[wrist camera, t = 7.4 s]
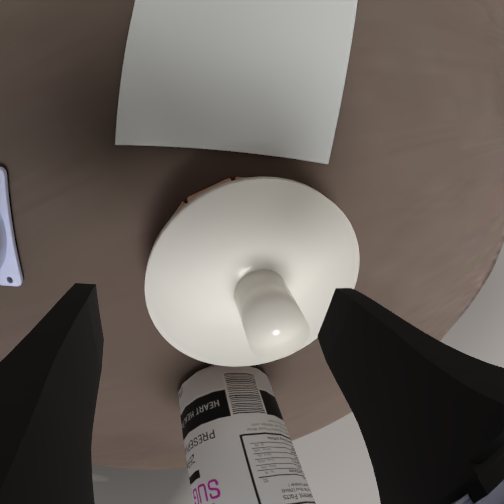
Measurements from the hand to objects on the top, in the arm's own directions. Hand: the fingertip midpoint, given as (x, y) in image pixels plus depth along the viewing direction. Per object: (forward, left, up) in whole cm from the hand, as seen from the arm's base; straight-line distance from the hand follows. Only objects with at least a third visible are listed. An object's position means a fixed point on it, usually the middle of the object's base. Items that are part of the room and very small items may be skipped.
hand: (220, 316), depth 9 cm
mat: (+1, +9, -10) cm, 14 cm away
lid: (+3, -3, -7) cm, 8 cm away
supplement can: (+3, -17, -10) cm, 20 cm away
